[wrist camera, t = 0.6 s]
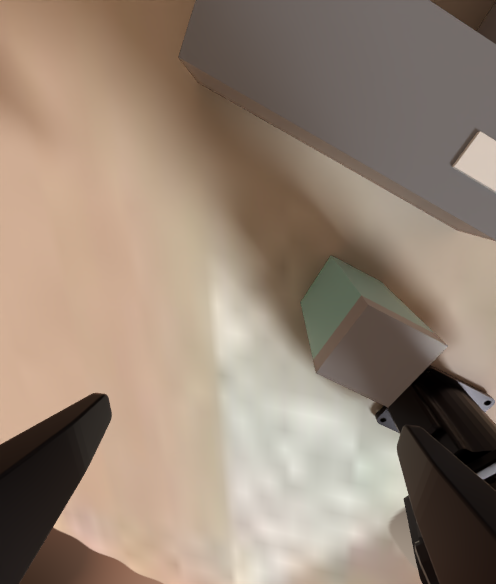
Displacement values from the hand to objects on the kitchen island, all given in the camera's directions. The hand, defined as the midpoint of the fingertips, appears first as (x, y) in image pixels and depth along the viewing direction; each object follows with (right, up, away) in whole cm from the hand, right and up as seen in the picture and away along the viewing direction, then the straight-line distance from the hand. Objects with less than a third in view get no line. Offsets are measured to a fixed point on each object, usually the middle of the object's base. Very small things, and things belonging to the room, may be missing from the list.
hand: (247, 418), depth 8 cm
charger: (+7, +4, +11) cm, 14 cm away
